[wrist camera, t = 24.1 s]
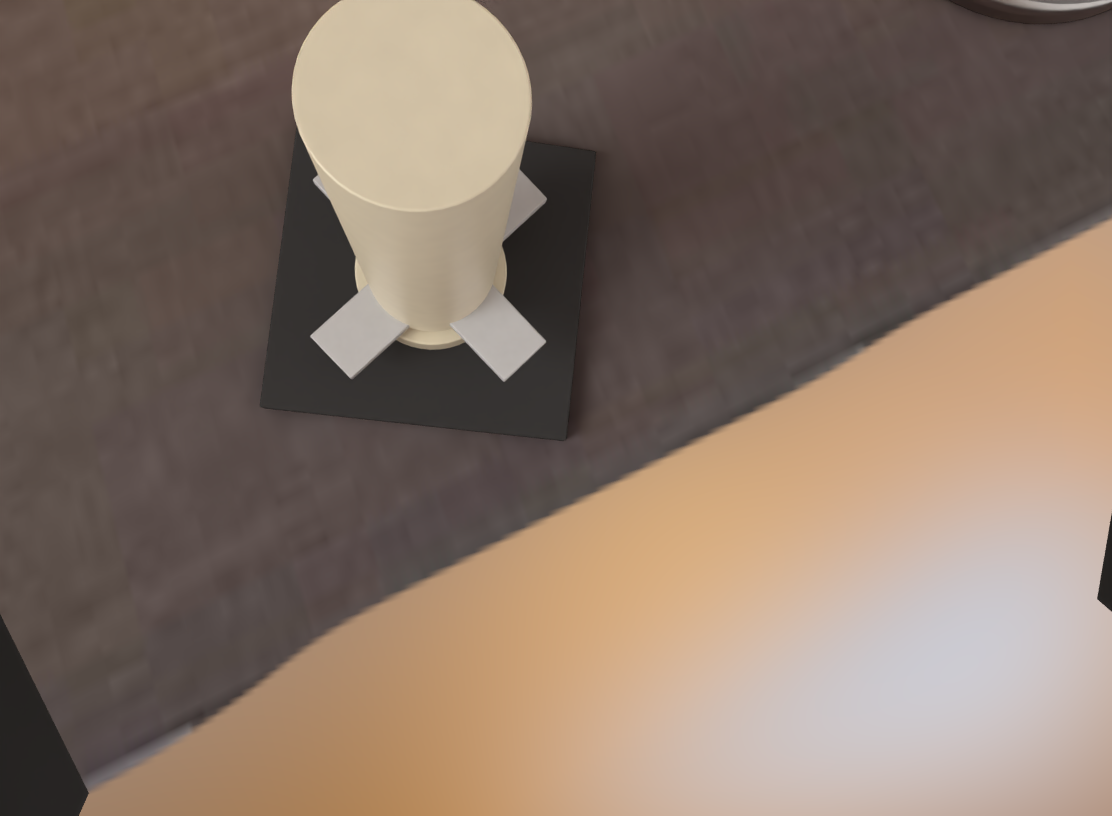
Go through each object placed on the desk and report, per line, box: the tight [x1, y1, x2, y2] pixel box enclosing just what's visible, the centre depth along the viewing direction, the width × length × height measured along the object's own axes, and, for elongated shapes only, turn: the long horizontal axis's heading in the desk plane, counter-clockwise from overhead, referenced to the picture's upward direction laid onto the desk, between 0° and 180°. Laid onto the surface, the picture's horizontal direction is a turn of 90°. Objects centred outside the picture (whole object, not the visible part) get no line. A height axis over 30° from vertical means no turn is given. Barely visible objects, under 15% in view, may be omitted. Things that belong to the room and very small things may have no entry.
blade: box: [292, 0, 547, 382], centre depth 22 cm, size 8×8×14 cm
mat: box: [260, 127, 596, 441], centre depth 29 cm, size 10×10×1 cm
